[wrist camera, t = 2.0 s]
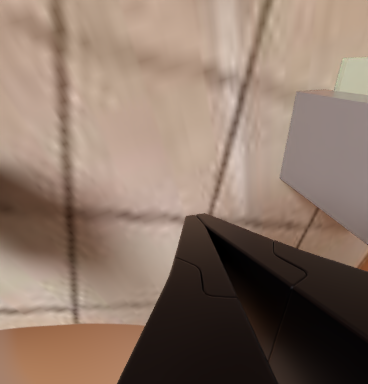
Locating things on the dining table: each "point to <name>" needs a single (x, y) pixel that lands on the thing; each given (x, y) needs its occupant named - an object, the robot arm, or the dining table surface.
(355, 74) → the pad
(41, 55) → the dining table surface
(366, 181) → the slate tile
